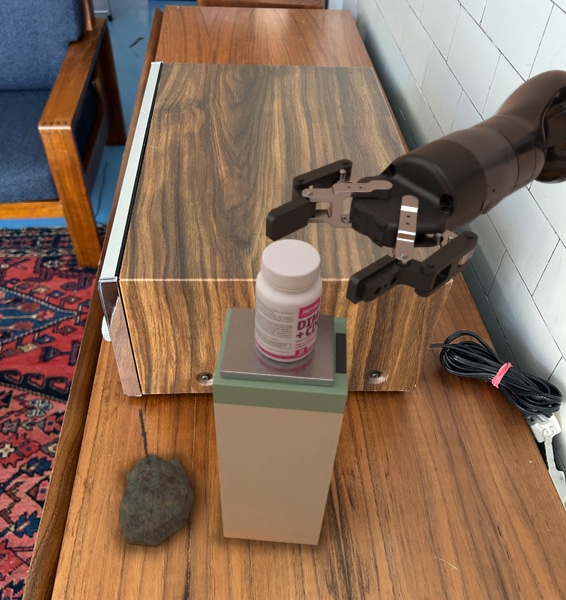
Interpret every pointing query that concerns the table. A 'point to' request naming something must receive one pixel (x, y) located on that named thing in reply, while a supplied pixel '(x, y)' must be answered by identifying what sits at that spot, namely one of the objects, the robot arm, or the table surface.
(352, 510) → the table surface
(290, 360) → the pill bottle
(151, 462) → the grey rough stone lump
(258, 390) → the scale
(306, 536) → the pedestal
